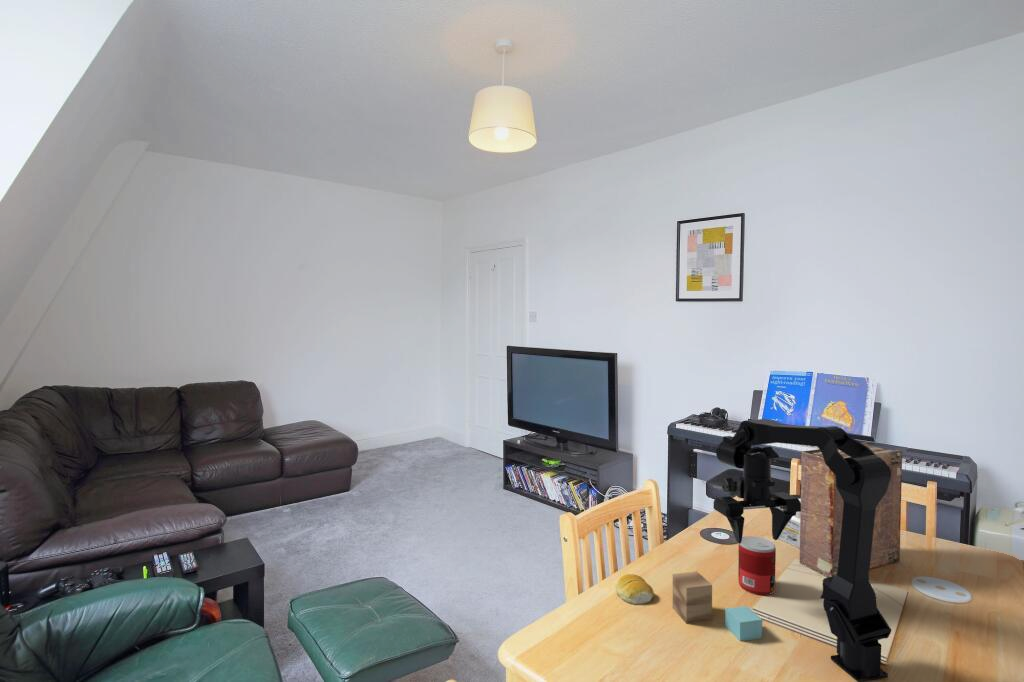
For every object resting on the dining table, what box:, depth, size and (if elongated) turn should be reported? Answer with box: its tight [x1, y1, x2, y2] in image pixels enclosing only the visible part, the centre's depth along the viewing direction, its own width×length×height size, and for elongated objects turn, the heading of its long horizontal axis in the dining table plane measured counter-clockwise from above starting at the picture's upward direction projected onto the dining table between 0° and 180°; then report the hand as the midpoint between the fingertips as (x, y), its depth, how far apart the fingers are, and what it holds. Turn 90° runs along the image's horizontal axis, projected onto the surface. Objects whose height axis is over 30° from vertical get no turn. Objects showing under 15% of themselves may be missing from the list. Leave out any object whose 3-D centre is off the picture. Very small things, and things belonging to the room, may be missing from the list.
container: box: [778, 494, 801, 549], centre depth 148 cm, size 8×8×13 cm
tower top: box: [672, 571, 713, 606], centre depth 112 cm, size 6×6×4 cm
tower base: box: [672, 592, 713, 625], centre depth 112 cm, size 6×6×4 cm
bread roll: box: [615, 573, 654, 605], centre depth 121 cm, size 8×9×4 cm
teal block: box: [724, 605, 763, 642], centre depth 106 cm, size 5×5×4 cm
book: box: [799, 441, 903, 578], centre depth 134 cm, size 25×9×30 cm, turn 111°
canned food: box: [737, 535, 777, 596], centre depth 123 cm, size 8×8×11 cm
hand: (756, 541), depth 118 cm, fingers open, 9 cm apart
